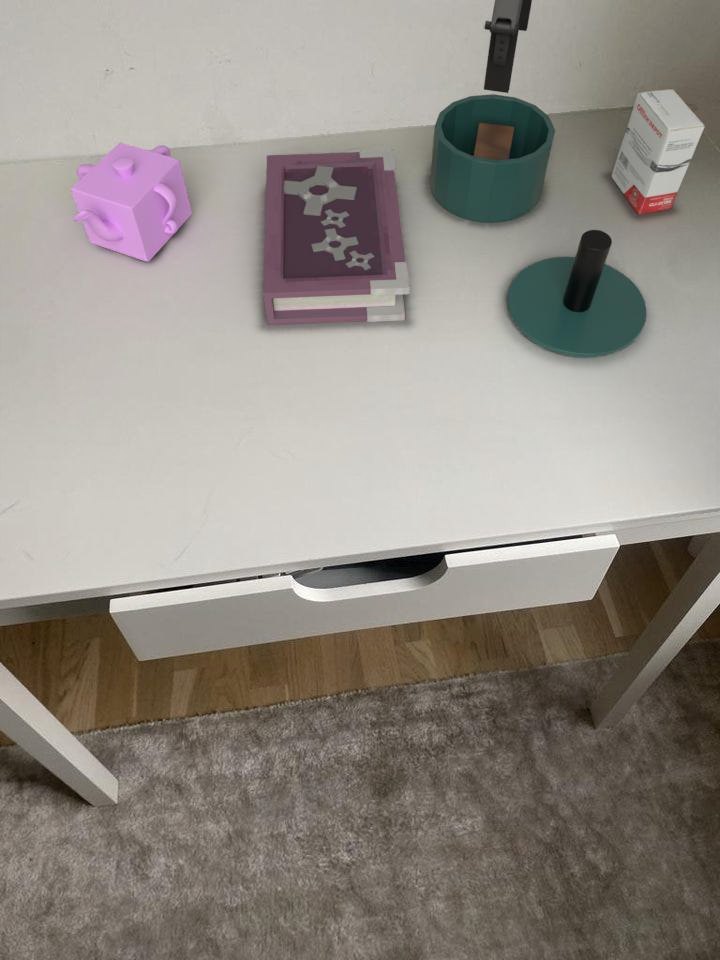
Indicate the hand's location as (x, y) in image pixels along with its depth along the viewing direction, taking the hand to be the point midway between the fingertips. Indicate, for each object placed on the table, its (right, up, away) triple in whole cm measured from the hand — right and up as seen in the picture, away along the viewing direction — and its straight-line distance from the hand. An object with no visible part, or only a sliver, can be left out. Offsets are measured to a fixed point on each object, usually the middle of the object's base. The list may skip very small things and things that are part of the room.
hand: (506, 57), depth 87 cm
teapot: (-45, -17, +10) cm, 49 cm away
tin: (0, -9, +14) cm, 17 cm away
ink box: (+20, -10, +14) cm, 27 cm away
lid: (+8, -28, +1) cm, 29 cm away
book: (-20, -20, +8) cm, 29 cm away
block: (0, -7, +13) cm, 15 cm away
